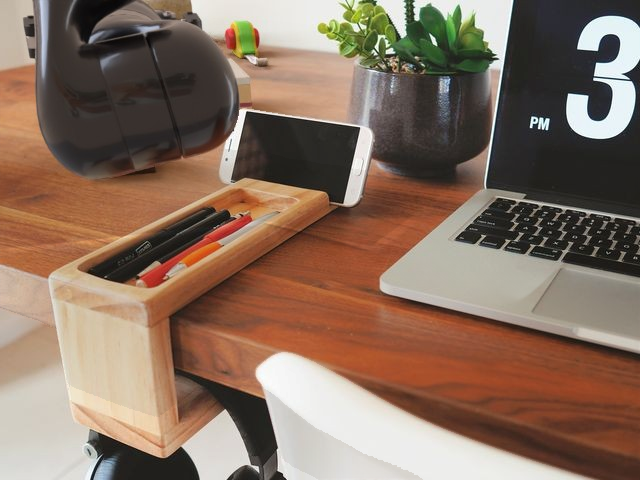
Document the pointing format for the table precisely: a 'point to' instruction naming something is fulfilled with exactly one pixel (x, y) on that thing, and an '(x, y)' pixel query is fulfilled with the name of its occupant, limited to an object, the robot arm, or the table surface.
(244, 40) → the toy measuring tape
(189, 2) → the fossilized egg
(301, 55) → the table surface
